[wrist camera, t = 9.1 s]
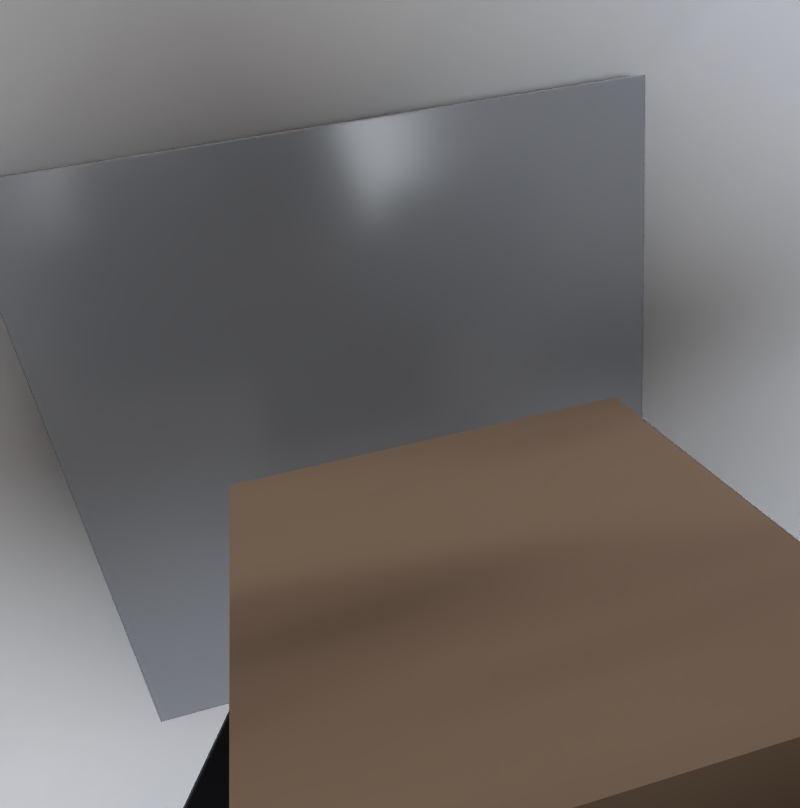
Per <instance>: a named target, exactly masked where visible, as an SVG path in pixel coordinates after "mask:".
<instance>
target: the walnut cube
mask: <svg viewBox="0 0 800 808" xmlns="http://www.w3.org/2000/svg"><path fill="white" fill-rule="evenodd" d="M229 808H800V542H799V541H798V540H797V539H796V538H794V537H793V536H792V535H790V534H789V533H788V532H787V531H785V530H784V529H783V528H781V527H780V526H779V525H778V524H776V523H775V522H774V521H773V520H771V519H770V518H769V517H767V516H766V515H765V514H764V513H762V512H761V511H760V510H758V509H757V508H756V507H755V506H753V505H752V504H751V503H750V502H748V501H747V500H746V499H744V498H743V497H742V496H741V495H739V494H738V493H737V492H735V491H734V490H733V489H732V488H730V487H729V486H728V485H727V484H725V483H724V482H723V481H721V480H720V479H719V478H718V477H716V476H715V475H714V474H712V473H711V472H710V471H709V470H707V469H706V468H705V467H704V466H702V465H701V464H700V463H698V462H697V461H696V460H695V459H693V458H692V457H691V456H689V455H688V454H687V453H686V452H684V451H683V450H682V449H681V448H679V447H678V446H677V445H675V444H674V443H673V442H672V441H670V440H669V439H668V438H666V437H665V436H664V435H663V434H661V433H660V432H659V431H658V430H656V429H655V428H654V427H652V426H651V425H650V424H649V423H647V422H646V421H645V420H643V419H642V418H641V417H640V416H638V415H637V414H636V413H635V412H633V411H632V410H631V409H629V408H628V407H627V406H626V405H624V404H623V403H622V402H620V401H619V400H618V399H617V398H615V397H613V398H608V399H604V400H600V401H595V402H591V403H586V404H582V405H578V406H573V407H569V408H565V409H560V410H556V411H551V412H547V413H543V414H538V415H534V416H530V417H525V418H521V419H516V420H512V421H508V422H503V423H499V424H495V425H490V426H486V427H481V428H477V429H473V430H468V431H464V432H460V433H455V434H451V435H447V436H442V437H438V438H433V439H429V440H425V441H420V442H416V443H412V444H407V445H403V446H398V447H394V448H390V449H385V450H381V451H377V452H372V453H368V454H363V455H359V456H355V457H350V458H346V459H342V460H337V461H333V462H328V463H324V464H320V465H315V466H311V467H307V468H302V469H298V470H294V471H289V472H285V473H280V474H276V475H272V476H267V477H263V478H259V479H254V480H250V481H245V482H241V483H237V484H232V485H230V634H229Z"/></svg>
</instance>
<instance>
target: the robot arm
mask: <svg viewBox="0 0 800 808" xmlns="http://www.w3.org/2000/svg"><path fill="white" fill-rule="evenodd" d="M183 808H229V712H228V714H227V716H226V718H225V721H224V723H223V725H222V727H221V729H220V731H219V733H218V735H217V738H216V740H215V742H214V744H213V746H212V748H211V750H210V752H209V754H208V757H207V759H206V761H205V763H204V765H203V767H202V769H201V771H200V774H199V776H198V778H197V780H196V782H195V784H194V786H193V788H192V790H191V793H190V795H189V797H188V799H187V801H186V803H185V805H184V807H183Z"/></svg>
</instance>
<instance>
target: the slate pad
mask: <svg viewBox="0 0 800 808" xmlns="http://www.w3.org/2000/svg"><path fill="white" fill-rule="evenodd" d="M644 139H645V75H641V76H626V77H620V78H613V79H607V80H601V81H595V82H589V83H582V84H576V85H570V86H564V87H557V88H551V89H545V90H539V91H532V92H526V93H520V94H514V95H507V96H501V97H495V98H489V99H483V100H476V101H470V102H464V103H458V104H451V105H445V106H439V107H433V108H426V109H420V110H414V111H408V112H401V113H395V114H389V115H383V116H377V117H370V118H364V119H358V120H352V121H345V122H339V123H333V124H327V125H320V126H314V127H308V128H302V129H296V130H289V131H283V132H277V133H271V134H264V135H258V136H252V137H246V138H239V139H233V140H227V141H221V142H214V143H208V144H202V145H196V146H190V147H183V148H177V149H171V150H165V151H158V152H152V153H146V154H140V155H133V156H127V157H121V158H115V159H108V160H102V161H96V162H90V163H84V164H77V165H71V166H65V167H59V168H52V169H46V170H40V171H34V172H27V173H21V174H15V175H9V176H2V177H0V313H1V315H2V318H3V321H4V323H5V326H6V328H7V331H8V333H9V336H10V338H11V341H12V343H13V346H14V349H15V351H16V354H17V356H18V359H19V361H20V364H21V366H22V369H23V371H24V374H25V377H26V379H27V382H28V384H29V387H30V389H31V392H32V394H33V397H34V399H35V402H36V405H37V407H38V410H39V412H40V415H41V417H42V420H43V422H44V425H45V427H46V430H47V433H48V435H49V438H50V440H51V443H52V445H53V448H54V450H55V453H56V455H57V458H58V461H59V463H60V466H61V468H62V471H63V473H64V476H65V478H66V481H67V483H68V486H69V489H70V491H71V494H72V496H73V499H74V501H75V504H76V506H77V509H78V511H79V514H80V517H81V519H82V522H83V524H84V527H85V529H86V532H87V534H88V537H89V539H90V542H91V545H92V547H93V550H94V552H95V555H96V557H97V560H98V562H99V565H100V567H101V570H102V573H103V575H104V578H105V580H106V583H107V585H108V588H109V590H110V593H111V595H112V598H113V601H114V603H115V606H116V608H117V611H118V613H119V616H120V618H121V621H122V623H123V626H124V629H125V631H126V634H127V636H128V639H129V641H130V644H131V646H132V649H133V651H134V654H135V656H136V659H137V662H138V664H139V667H140V669H141V672H142V674H143V677H144V679H145V682H146V684H147V687H148V690H149V692H150V695H151V697H152V700H153V702H154V705H155V707H156V710H157V712H158V715H159V718H160V720H161V722H162V721H165V720H169V719H173V718H176V717H180V716H184V715H187V714H191V713H195V712H198V711H202V710H206V709H209V708H213V707H217V706H220V705H224V704H228V703H229V634H230V485H232V484H237V483H241V482H245V481H250V480H254V479H259V478H263V477H267V476H272V475H276V474H280V473H285V472H289V471H294V470H298V469H302V468H307V467H311V466H315V465H320V464H324V463H328V462H333V461H337V460H342V459H346V458H350V457H355V456H359V455H363V454H368V453H372V452H377V451H381V450H385V449H390V448H394V447H398V446H403V445H407V444H412V443H416V442H420V441H425V440H429V439H433V438H438V437H442V436H447V435H451V434H455V433H460V432H464V431H468V430H473V429H477V428H481V427H486V426H490V425H495V424H499V423H503V422H508V421H512V420H516V419H521V418H525V417H530V416H534V415H538V414H543V413H547V412H551V411H556V410H560V409H565V408H569V407H573V406H578V405H582V404H586V403H591V402H595V401H600V400H604V399H608V398H613V397H615V398H617V399H618V400H619V401H620V402H622V403H623V404H624V405H626V406H627V407H628V408H629V409H631V410H632V411H633V412H635V413H636V414H637V415H638V416H640V417H641V418H642V354H643V246H644Z"/></svg>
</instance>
